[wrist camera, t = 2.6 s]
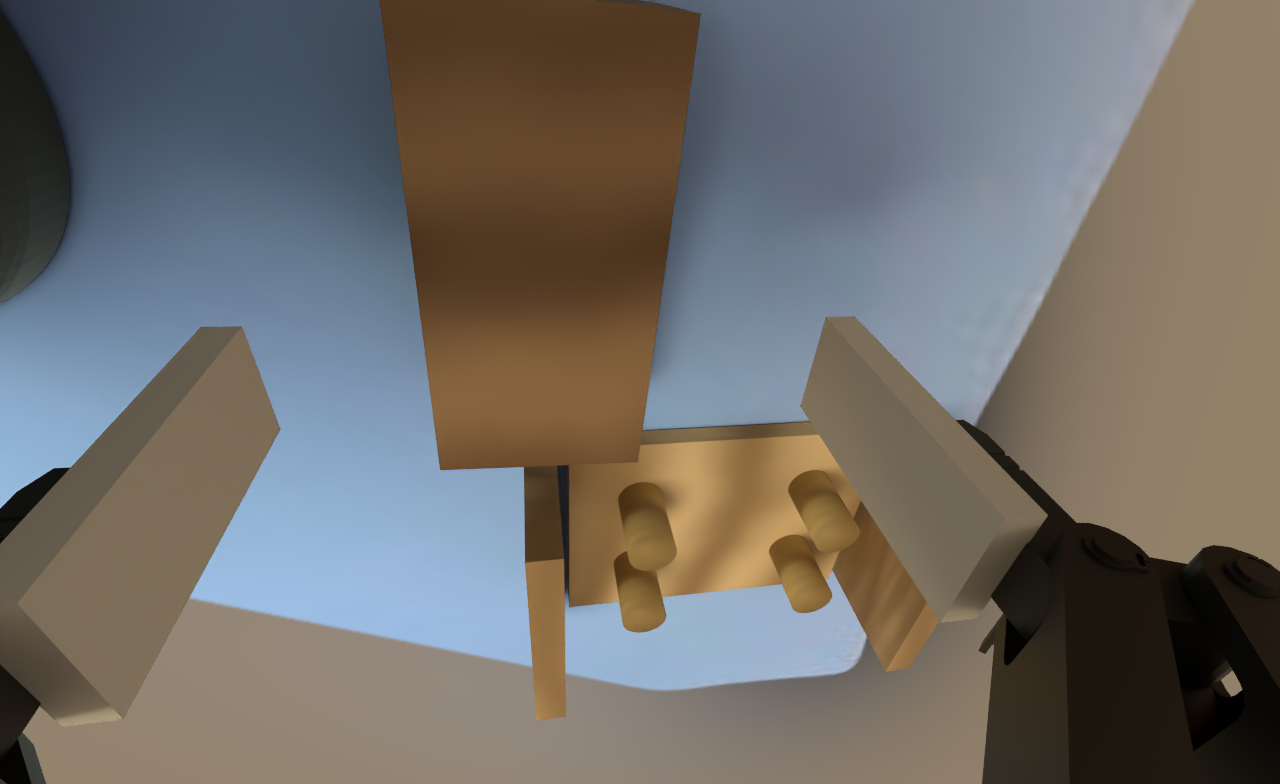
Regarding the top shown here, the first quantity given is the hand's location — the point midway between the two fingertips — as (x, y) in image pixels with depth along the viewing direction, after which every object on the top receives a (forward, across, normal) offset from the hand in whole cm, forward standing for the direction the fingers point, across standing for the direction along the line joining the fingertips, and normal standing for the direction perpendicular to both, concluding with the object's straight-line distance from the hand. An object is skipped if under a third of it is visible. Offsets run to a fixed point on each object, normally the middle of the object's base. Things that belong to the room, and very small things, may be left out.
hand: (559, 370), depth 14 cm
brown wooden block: (+9, 0, 0) cm, 9 cm away
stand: (+9, +9, -16) cm, 20 cm away
